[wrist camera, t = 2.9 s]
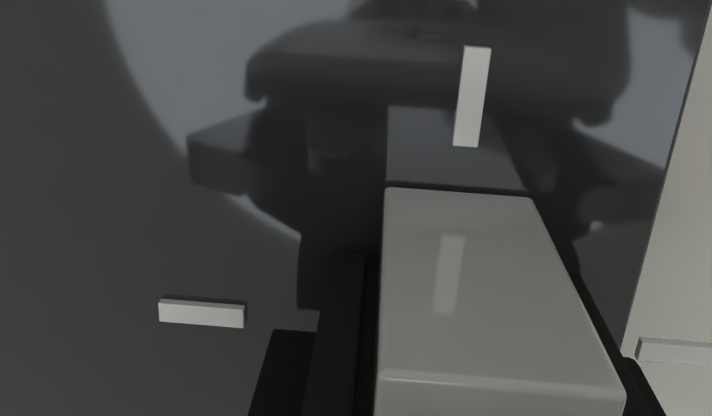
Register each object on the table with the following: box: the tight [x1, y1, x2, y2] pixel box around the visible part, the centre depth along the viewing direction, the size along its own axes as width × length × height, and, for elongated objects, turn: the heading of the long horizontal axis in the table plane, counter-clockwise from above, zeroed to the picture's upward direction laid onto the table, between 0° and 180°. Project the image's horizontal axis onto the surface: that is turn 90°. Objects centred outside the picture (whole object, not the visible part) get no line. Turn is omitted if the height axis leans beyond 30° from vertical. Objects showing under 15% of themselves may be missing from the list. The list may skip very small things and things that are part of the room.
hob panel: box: [0, 0, 712, 416], centre depth 12 cm, size 12×18×3 cm
